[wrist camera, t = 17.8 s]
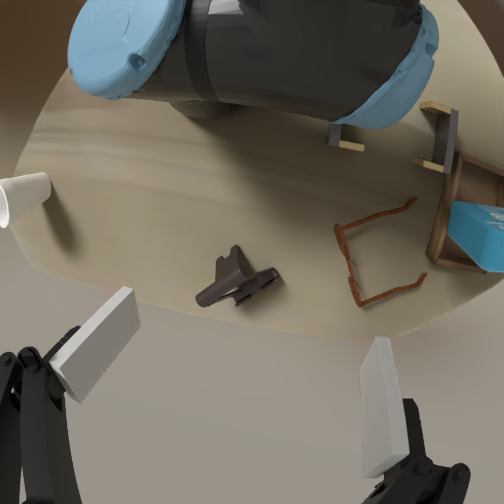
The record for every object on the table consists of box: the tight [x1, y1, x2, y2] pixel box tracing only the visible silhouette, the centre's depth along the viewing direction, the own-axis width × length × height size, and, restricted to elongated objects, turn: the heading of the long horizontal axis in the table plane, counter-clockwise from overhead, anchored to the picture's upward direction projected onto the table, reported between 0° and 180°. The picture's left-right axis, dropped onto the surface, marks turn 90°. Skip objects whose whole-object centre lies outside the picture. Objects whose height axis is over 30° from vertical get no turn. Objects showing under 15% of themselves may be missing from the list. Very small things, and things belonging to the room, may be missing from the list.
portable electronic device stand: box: [196, 245, 279, 307], centre depth 40 cm, size 9×8×8 cm
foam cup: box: [0, 172, 51, 228], centre depth 40 cm, size 10×9×13 cm
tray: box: [425, 151, 504, 274], centre depth 30 cm, size 16×12×3 cm
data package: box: [447, 201, 504, 273], centre depth 23 cm, size 12×4×12 cm, turn 93°
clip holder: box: [327, 101, 459, 175], centre depth 28 cm, size 9×16×4 cm, turn 85°
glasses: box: [334, 197, 427, 307], centre depth 35 cm, size 13×13×5 cm
